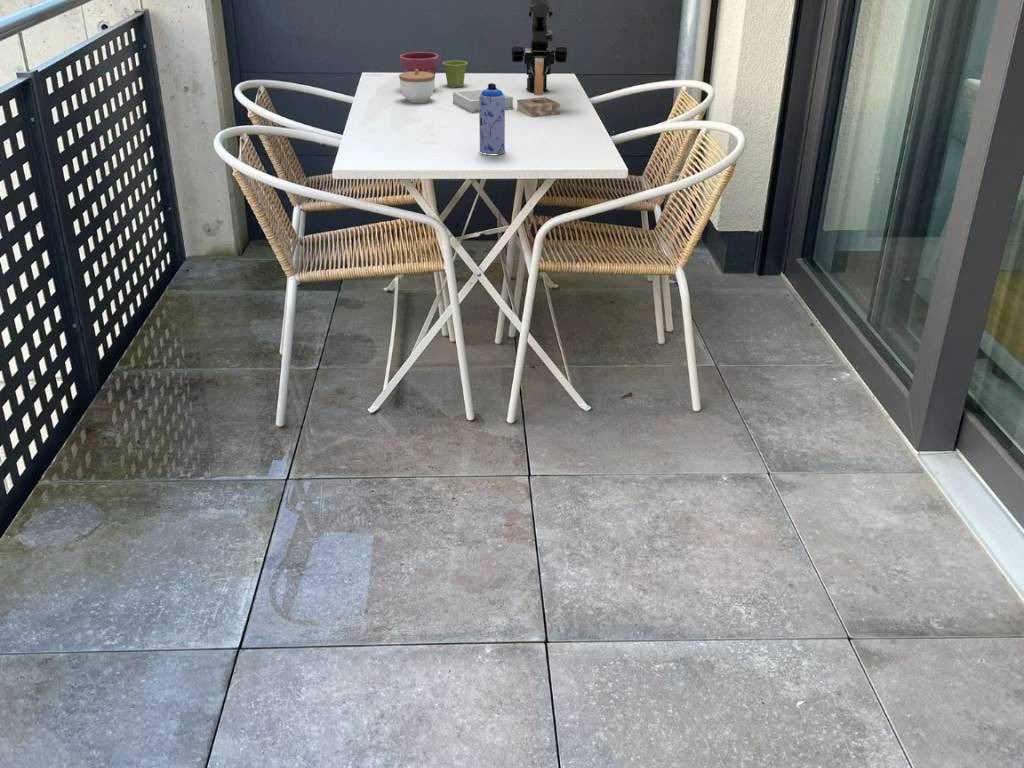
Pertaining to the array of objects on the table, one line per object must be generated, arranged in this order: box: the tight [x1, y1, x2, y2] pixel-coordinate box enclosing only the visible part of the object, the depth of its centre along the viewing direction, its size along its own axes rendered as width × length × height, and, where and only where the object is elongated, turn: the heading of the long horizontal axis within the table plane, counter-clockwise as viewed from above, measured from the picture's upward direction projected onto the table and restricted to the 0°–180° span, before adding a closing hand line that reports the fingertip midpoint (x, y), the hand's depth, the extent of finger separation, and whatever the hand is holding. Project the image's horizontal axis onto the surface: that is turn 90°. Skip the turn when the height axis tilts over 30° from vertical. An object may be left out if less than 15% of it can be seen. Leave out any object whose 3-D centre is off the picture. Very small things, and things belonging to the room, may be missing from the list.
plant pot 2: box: [442, 60, 468, 88], centre depth 384 cm, size 9×9×9 cm
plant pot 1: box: [399, 51, 440, 76], centre depth 376 cm, size 14×14×13 cm
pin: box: [533, 57, 544, 96], centre depth 344 cm, size 3×3×12 cm
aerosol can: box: [478, 83, 506, 155], centre depth 298 cm, size 8×8×20 cm
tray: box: [452, 88, 514, 113], centre depth 356 cm, size 16×16×4 cm
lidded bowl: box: [398, 69, 436, 104], centre depth 361 cm, size 13×13×11 cm
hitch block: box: [516, 96, 561, 118], centre depth 349 cm, size 11×11×4 cm
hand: (539, 75), depth 342 cm, fingers closed on pin, 3 cm apart
